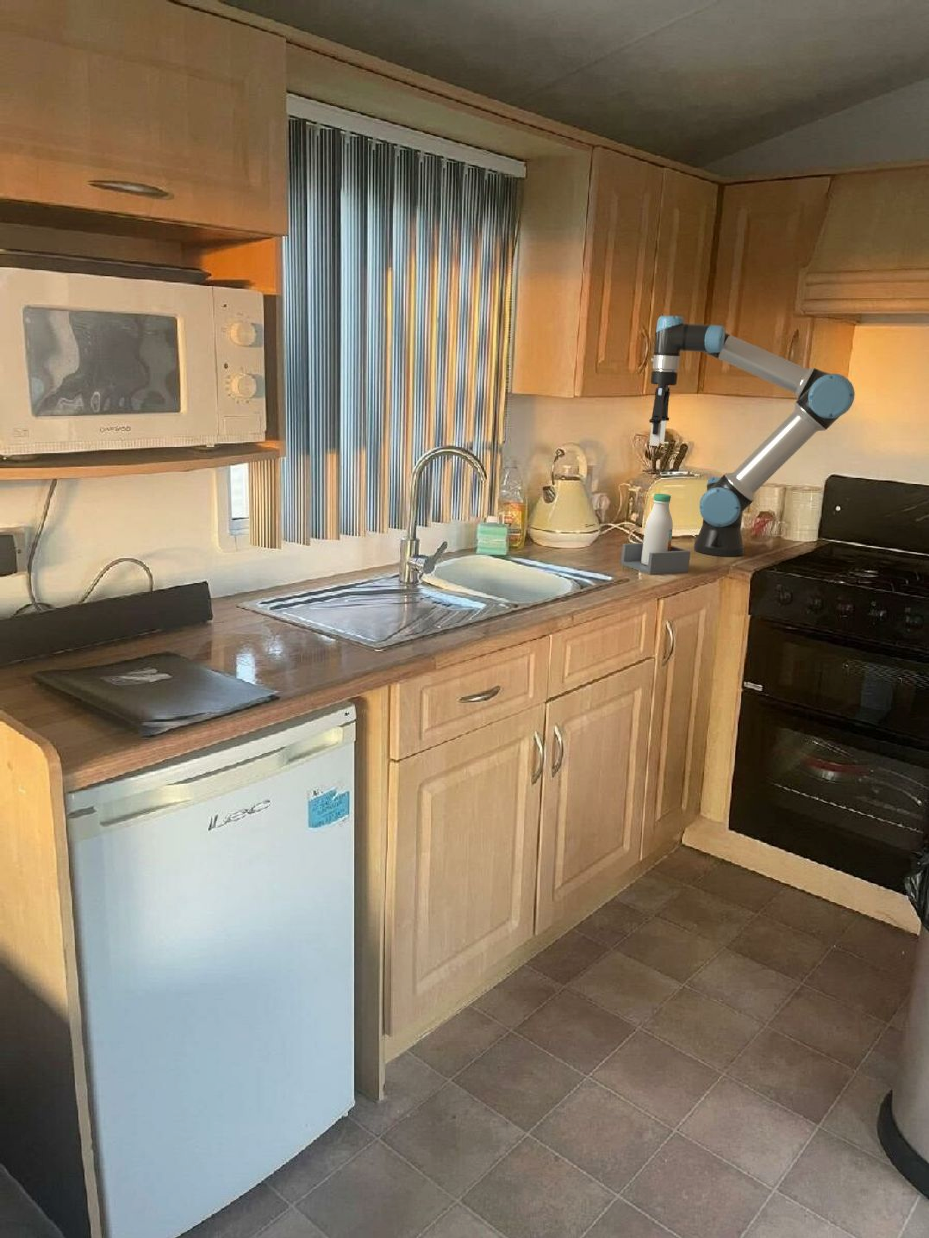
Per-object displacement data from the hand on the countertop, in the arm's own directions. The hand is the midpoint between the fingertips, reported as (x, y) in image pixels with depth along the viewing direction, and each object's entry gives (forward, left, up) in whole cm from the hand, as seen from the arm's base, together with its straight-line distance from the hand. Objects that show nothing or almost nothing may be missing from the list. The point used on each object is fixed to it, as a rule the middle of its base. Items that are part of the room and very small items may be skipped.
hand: (656, 444), depth 289 cm
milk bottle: (+13, +21, -32) cm, 40 cm away
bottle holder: (+13, +21, -33) cm, 41 cm away
